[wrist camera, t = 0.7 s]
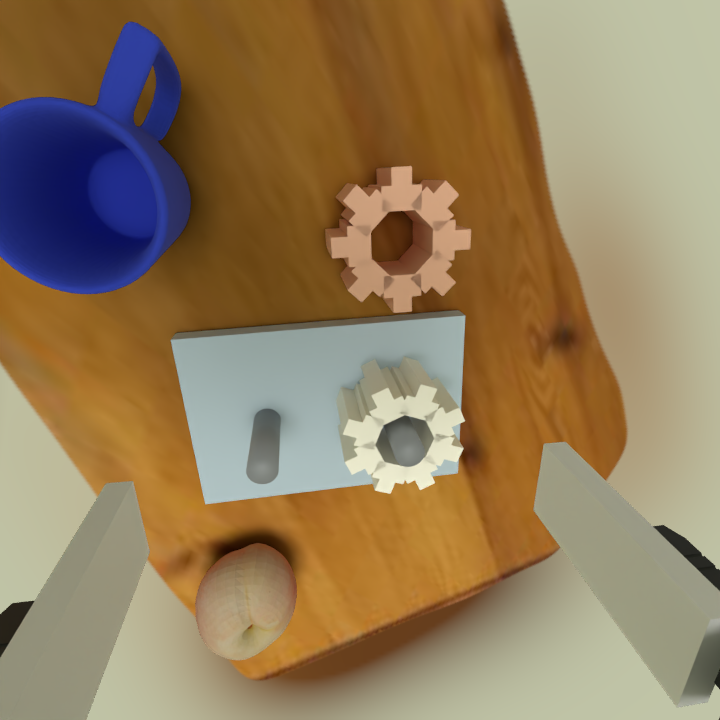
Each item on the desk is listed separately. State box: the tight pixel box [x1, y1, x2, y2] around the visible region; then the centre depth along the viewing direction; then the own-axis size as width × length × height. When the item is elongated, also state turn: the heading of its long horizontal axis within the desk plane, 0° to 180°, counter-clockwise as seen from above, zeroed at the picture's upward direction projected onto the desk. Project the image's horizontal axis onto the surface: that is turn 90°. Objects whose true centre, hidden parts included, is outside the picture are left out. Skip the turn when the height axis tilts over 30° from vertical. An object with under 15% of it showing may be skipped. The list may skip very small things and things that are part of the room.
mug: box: [0, 22, 191, 294], centre depth 24 cm, size 8×12×10 cm
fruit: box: [195, 543, 297, 660], centre depth 38 cm, size 8×8×8 cm
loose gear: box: [325, 166, 471, 313], centre depth 30 cm, size 9×9×5 cm
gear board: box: [171, 310, 465, 504], centre depth 33 cm, size 14×21×8 cm, turn 93°
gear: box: [336, 357, 465, 494], centre depth 34 cm, size 9×9×5 cm
